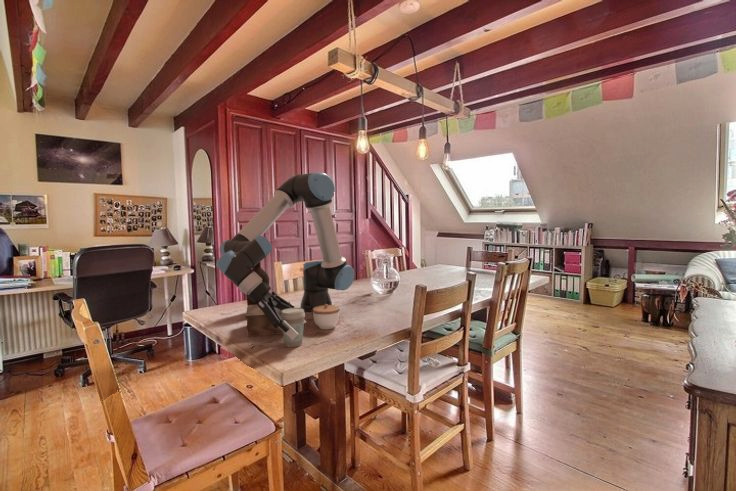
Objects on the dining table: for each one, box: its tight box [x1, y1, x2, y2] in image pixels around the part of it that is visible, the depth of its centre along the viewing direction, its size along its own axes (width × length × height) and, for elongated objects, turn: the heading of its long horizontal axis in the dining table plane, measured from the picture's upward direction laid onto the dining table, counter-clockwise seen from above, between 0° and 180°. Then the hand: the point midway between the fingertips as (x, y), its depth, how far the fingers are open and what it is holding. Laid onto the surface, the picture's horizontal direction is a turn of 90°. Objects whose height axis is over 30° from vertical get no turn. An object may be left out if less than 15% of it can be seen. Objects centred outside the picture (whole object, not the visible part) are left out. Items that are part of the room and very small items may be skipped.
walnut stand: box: [244, 301, 291, 338], centre depth 142 cm, size 17×17×8 cm
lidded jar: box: [312, 304, 341, 330], centre depth 143 cm, size 11×11×9 cm
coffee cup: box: [281, 307, 306, 348], centre depth 124 cm, size 9×8×12 cm
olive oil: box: [246, 261, 270, 307], centre depth 165 cm, size 11×11×25 cm
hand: (299, 330), depth 124 cm, fingers open, 13 cm apart
